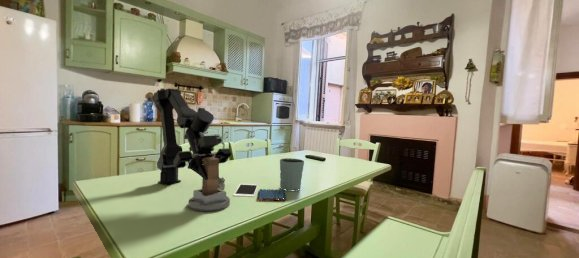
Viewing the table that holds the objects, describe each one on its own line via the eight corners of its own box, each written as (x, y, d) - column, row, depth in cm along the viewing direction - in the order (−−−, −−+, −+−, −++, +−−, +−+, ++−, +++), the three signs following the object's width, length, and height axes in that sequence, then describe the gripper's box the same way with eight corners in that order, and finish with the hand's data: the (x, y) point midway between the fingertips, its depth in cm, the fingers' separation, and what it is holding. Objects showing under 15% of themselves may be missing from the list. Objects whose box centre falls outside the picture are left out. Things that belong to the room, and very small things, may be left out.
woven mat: (257, 193, 101) (258, 188, 101) (284, 194, 101) (285, 189, 101) (256, 202, 90) (256, 196, 90) (286, 203, 91) (286, 197, 91)
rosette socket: (181, 203, 84) (181, 189, 84) (216, 195, 94) (217, 183, 94) (200, 215, 75) (200, 200, 75) (237, 205, 85) (237, 192, 85)
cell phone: (232, 197, 94) (232, 195, 94) (240, 185, 111) (240, 183, 111) (253, 197, 95) (253, 196, 95) (258, 185, 111) (258, 184, 111)
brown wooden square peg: (201, 197, 84) (203, 158, 84) (211, 194, 87) (213, 157, 86) (207, 200, 82) (208, 159, 81) (217, 197, 85) (218, 158, 84)
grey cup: (273, 188, 107) (275, 159, 106) (287, 183, 115) (289, 157, 115) (293, 193, 101) (295, 163, 101) (307, 188, 110) (308, 160, 109)
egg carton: (224, 191, 101) (225, 180, 100) (204, 191, 99) (205, 181, 99) (225, 183, 111) (225, 174, 111) (206, 183, 109) (207, 174, 109)
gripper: (178, 126, 79) (193, 168, 72) (230, 126, 93) (247, 161, 86) (167, 147, 85) (180, 188, 78) (217, 145, 98) (232, 179, 92)
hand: (212, 178), depth 83 cm, fingers closed on brown wooden square peg, 3 cm apart
